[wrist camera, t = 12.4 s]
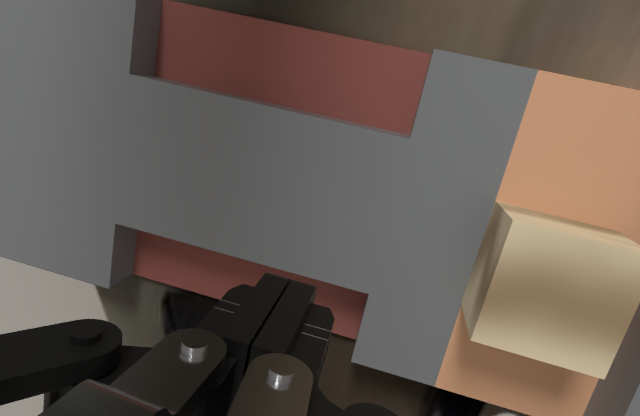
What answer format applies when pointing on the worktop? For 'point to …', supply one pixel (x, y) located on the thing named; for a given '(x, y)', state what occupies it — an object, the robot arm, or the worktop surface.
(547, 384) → the trap deck
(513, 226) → the maple block
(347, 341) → the worktop surface
